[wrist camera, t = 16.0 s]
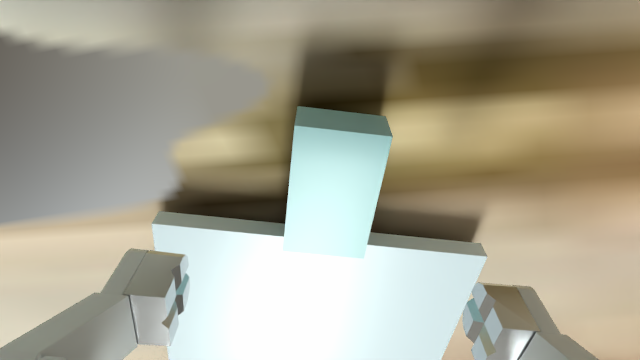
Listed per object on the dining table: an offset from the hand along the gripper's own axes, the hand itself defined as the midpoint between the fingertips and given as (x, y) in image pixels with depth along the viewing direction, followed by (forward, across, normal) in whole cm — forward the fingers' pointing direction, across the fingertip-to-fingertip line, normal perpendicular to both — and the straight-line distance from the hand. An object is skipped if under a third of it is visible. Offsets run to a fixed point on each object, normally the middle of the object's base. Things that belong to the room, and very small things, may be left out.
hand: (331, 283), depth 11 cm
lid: (+5, 0, +8) cm, 9 cm away
